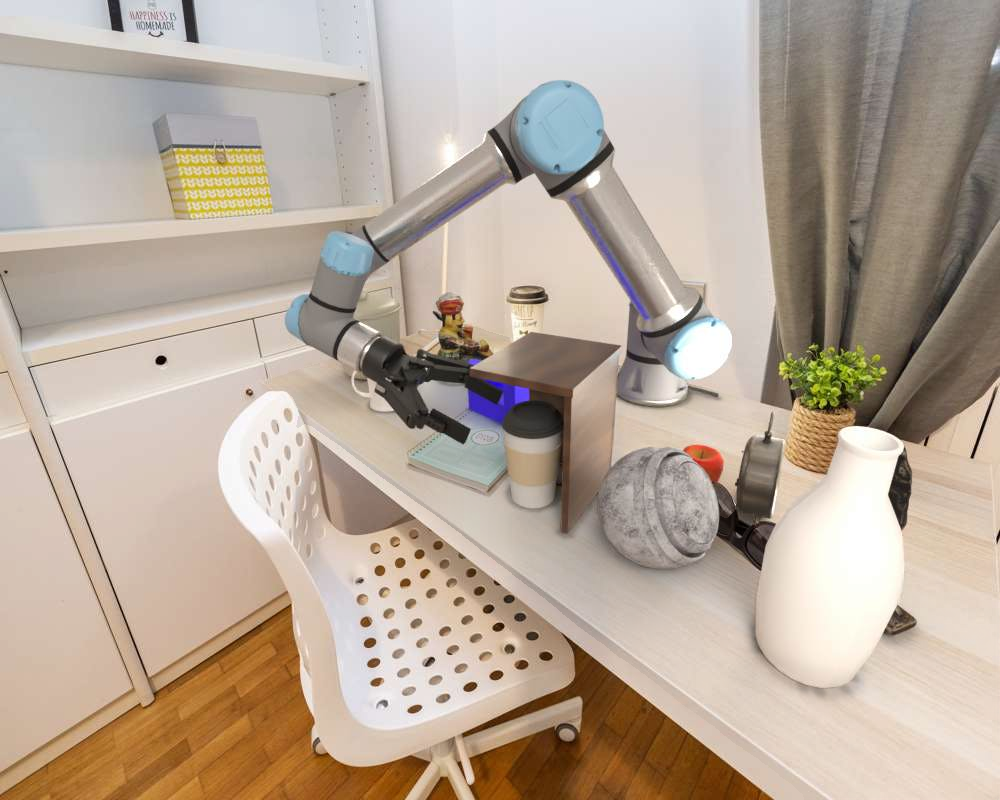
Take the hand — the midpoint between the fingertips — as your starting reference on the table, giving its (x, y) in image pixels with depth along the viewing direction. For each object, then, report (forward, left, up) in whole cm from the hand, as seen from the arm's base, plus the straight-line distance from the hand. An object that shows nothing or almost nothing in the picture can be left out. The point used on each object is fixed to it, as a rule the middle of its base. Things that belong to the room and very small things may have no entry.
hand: (485, 416), depth 82 cm
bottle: (-34, +35, -10) cm, 50 cm away
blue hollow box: (-7, -26, -10) cm, 29 cm away
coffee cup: (-7, +7, -10) cm, 15 cm away
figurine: (+8, -41, -10) cm, 43 cm away
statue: (-44, +30, -10) cm, 54 cm away
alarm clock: (-38, +12, -10) cm, 42 cm away
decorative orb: (-22, +20, -10) cm, 32 cm away
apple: (-32, +7, -10) cm, 35 cm away
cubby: (-10, +5, -10) cm, 15 cm away
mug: (+24, -26, -10) cm, 37 cm away
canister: (+31, -45, -10) cm, 56 cm away
